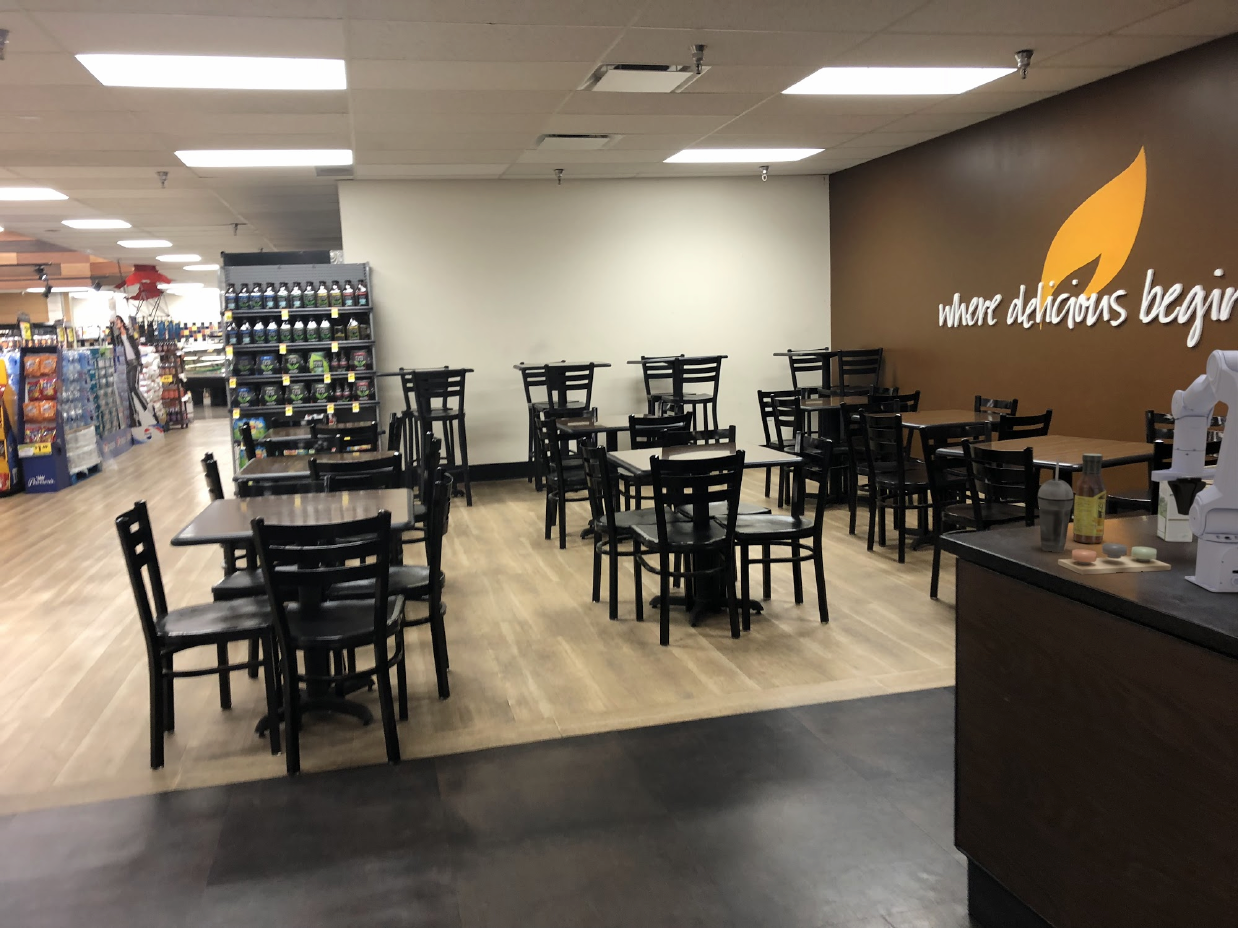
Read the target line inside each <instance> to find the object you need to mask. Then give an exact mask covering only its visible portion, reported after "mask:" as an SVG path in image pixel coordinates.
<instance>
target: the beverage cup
mask: <svg viewBox="0 0 1238 928" xmlns="http://www.w3.org/2000/svg"><path fill="white" fill-rule="evenodd" d="M1059 468H1060V458H1056V462H1055V477H1054V478H1053V479H1049V480H1047V481H1045V482H1043V483H1042V484H1041V486H1040V488H1039V489H1038V492H1037V496H1036V497H1037V502H1038V504H1037V505H1038V507H1039V532H1040V545H1041V547H1040V548H1041V550H1042V551H1044V550H1045V551H1044V552H1048V551H1052V552H1051V553H1063V552H1065V546H1066V543H1067V536H1068V529H1069V524H1070V523H1069V521H1070V517H1071V510H1072V508H1073V505H1074V504H1073V503H1074V501H1075V496H1074V492H1073V489H1072V487H1071V486H1070V484H1069V483H1067V482H1066V481H1065V480H1062V479H1059ZM1062 551H1063V552H1062Z"/></svg>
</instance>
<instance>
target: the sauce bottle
mask: <svg viewBox="0 0 1238 928" xmlns="http://www.w3.org/2000/svg"><path fill="white" fill-rule="evenodd" d="M1103 457H1104V456H1103V454H1101V453H1083V454H1082V458H1081V460H1082V474H1081V475H1080V477H1079V478H1078V479H1077V481H1076V484H1075V493H1074V494H1075V495H1074V504H1073V505H1074V506H1073V509H1074V510H1073V525H1072V533H1073V536H1072V538H1073V540H1074V541H1075V542H1078V543H1083V544H1099V543H1102V542H1103V539H1104V538H1103V537H1104V534H1105V517H1106V504H1107V503H1106V502H1107V501H1106V499H1107V488H1106V485H1105V481H1104V479H1103V475H1102V462H1103V459H1104V458H1103Z"/></svg>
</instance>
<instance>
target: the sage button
mask: <svg viewBox="0 0 1238 928" xmlns="http://www.w3.org/2000/svg"><path fill="white" fill-rule="evenodd" d="M1157 552H1158V551H1157V549H1156V548H1154V547H1150V546H1131V555H1130V556H1132V557H1134V558H1137V561H1140V562H1150V559H1155V560H1157Z"/></svg>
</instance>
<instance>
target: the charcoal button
mask: <svg viewBox="0 0 1238 928" xmlns="http://www.w3.org/2000/svg"><path fill="white" fill-rule="evenodd" d="M1101 553H1102V554H1104V555H1106V557H1109V558H1115V559H1119V558H1121V557H1125V556H1128V555H1127V554H1128V546H1127V545H1126V544H1123V543H1114V542H1104V543H1102V548H1101Z"/></svg>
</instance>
